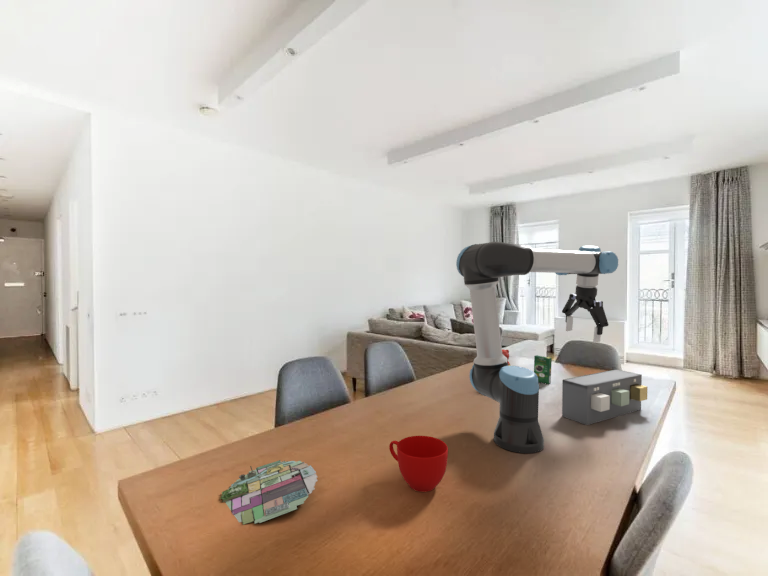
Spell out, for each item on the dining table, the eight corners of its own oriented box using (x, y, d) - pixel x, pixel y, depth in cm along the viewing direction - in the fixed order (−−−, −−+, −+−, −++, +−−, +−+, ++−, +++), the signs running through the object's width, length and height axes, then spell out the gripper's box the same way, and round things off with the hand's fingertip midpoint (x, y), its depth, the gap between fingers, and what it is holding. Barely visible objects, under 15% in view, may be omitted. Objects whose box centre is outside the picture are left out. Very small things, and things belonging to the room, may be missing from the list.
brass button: (647, 399, 146) (647, 386, 146) (639, 401, 144) (640, 388, 144) (631, 395, 151) (631, 382, 151) (623, 396, 149) (623, 384, 149)
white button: (609, 409, 135) (609, 395, 135) (600, 411, 133) (601, 397, 133) (593, 404, 140) (593, 391, 140) (584, 406, 138) (585, 393, 138)
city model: (201, 501, 93) (198, 478, 93) (285, 458, 110) (283, 438, 109) (246, 555, 76) (242, 528, 75) (338, 494, 92) (336, 471, 91)
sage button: (629, 404, 141) (629, 390, 140) (621, 406, 138) (621, 392, 138) (613, 399, 146) (613, 386, 146) (605, 401, 144) (605, 388, 143)
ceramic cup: (404, 462, 108) (404, 427, 108) (457, 482, 97) (457, 444, 97) (374, 481, 98) (374, 443, 98) (430, 506, 87) (430, 463, 87)
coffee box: (551, 383, 188) (552, 357, 187) (549, 384, 186) (549, 358, 185) (535, 380, 194) (536, 354, 193) (533, 381, 192) (533, 355, 191)
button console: (641, 409, 150) (642, 374, 150) (587, 425, 135) (588, 386, 134) (615, 402, 159) (616, 369, 159) (562, 416, 144) (562, 379, 143)
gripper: (623, 291, 138) (616, 345, 144) (568, 278, 161) (565, 324, 166) (607, 294, 136) (602, 348, 141) (555, 280, 158) (551, 327, 164)
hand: (582, 336), depth 154 cm, fingers open, 13 cm apart
